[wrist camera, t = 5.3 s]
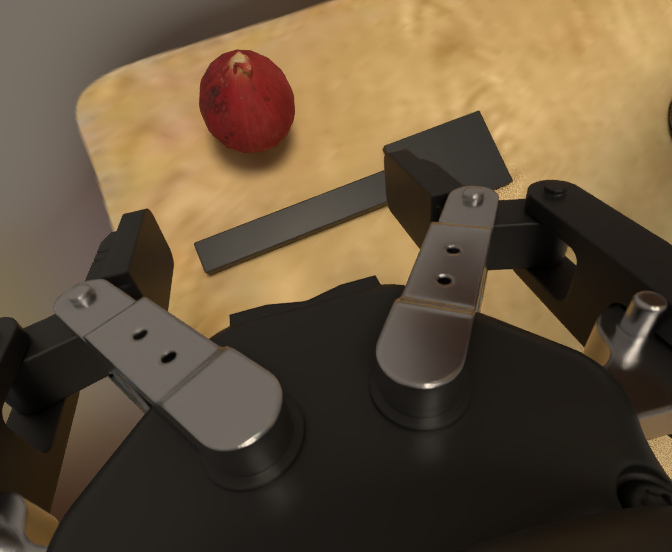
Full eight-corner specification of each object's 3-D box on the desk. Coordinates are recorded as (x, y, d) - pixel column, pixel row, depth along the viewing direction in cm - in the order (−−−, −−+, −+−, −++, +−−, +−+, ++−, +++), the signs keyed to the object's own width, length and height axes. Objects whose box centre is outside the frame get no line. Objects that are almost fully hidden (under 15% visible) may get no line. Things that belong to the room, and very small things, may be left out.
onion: (233, 183, 27) (204, 126, 20) (201, 113, 28) (161, 29, 20) (308, 153, 28) (309, 86, 20) (276, 85, 29) (265, -7, 21)
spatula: (476, 113, 30) (483, 104, 29) (509, 183, 29) (518, 177, 28) (188, 221, 27) (182, 216, 26) (219, 301, 26) (215, 300, 25)
